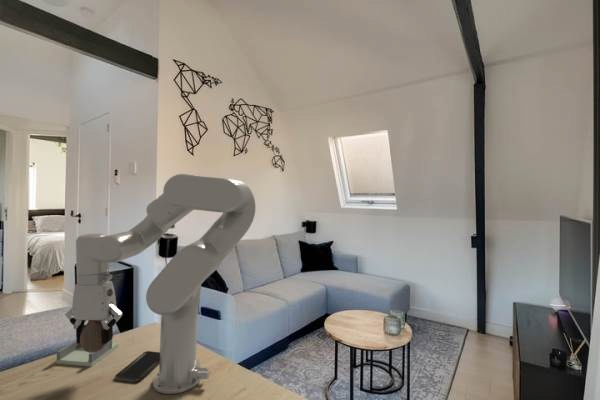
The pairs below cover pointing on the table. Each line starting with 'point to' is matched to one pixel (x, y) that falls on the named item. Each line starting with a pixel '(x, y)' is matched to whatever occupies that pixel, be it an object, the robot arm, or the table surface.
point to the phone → (139, 367)
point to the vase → (92, 337)
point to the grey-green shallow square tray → (82, 354)
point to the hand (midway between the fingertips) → (94, 341)
